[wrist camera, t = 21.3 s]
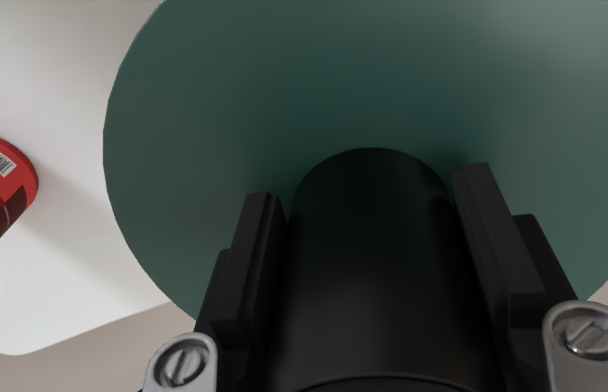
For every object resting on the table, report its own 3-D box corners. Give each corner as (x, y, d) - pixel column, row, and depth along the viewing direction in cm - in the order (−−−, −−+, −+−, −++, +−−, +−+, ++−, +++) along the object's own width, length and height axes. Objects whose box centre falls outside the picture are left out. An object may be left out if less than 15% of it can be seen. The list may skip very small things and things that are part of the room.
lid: (19, -21, 11) (-386, 128, 5) (711, -189, 8) (1635, -310, 2) (212, 359, 18) (148, 599, 12) (603, 330, 16) (757, 613, 10)
